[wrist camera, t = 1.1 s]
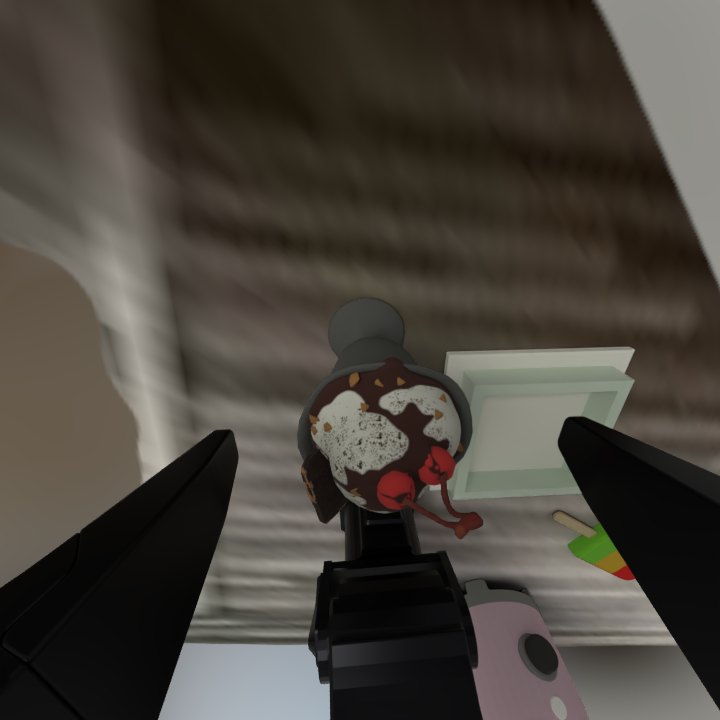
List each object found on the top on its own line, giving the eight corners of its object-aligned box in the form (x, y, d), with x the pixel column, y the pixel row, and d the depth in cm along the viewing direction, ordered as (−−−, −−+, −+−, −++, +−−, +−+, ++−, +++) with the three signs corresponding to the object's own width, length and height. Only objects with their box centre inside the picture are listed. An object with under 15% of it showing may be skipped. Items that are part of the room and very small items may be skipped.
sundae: (426, 288, 20) (597, 483, 7) (405, 381, 23) (494, 640, 10) (319, 276, 19) (275, 465, 6) (312, 373, 22) (272, 641, 9)
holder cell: (573, 478, 29) (592, 502, 27) (428, 485, 28) (436, 510, 26) (629, 346, 23) (660, 363, 21) (446, 351, 22) (458, 369, 20)
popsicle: (616, 567, 37) (629, 584, 35) (528, 522, 32) (539, 540, 30) (659, 540, 35) (675, 557, 33) (573, 489, 30) (586, 506, 29)
